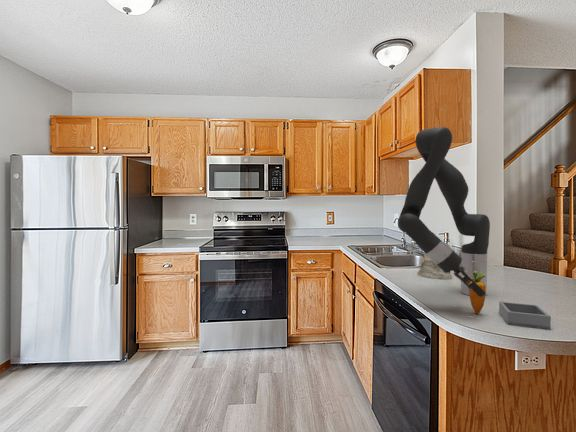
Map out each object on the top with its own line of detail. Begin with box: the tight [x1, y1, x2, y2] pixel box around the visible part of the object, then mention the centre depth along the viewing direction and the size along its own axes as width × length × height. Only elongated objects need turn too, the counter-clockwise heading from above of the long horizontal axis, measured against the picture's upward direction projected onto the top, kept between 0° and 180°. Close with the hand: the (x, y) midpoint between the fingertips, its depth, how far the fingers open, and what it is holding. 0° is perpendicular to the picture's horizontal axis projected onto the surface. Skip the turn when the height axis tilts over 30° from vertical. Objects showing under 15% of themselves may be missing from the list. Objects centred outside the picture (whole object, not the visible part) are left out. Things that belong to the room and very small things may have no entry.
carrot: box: [468, 271, 486, 315], centre depth 103 cm, size 5×5×15 cm
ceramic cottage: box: [417, 252, 453, 281], centre depth 158 cm, size 16×16×15 cm
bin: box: [498, 301, 552, 331], centre depth 97 cm, size 11×11×4 cm
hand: (480, 291), depth 103 cm, fingers open, 8 cm apart
